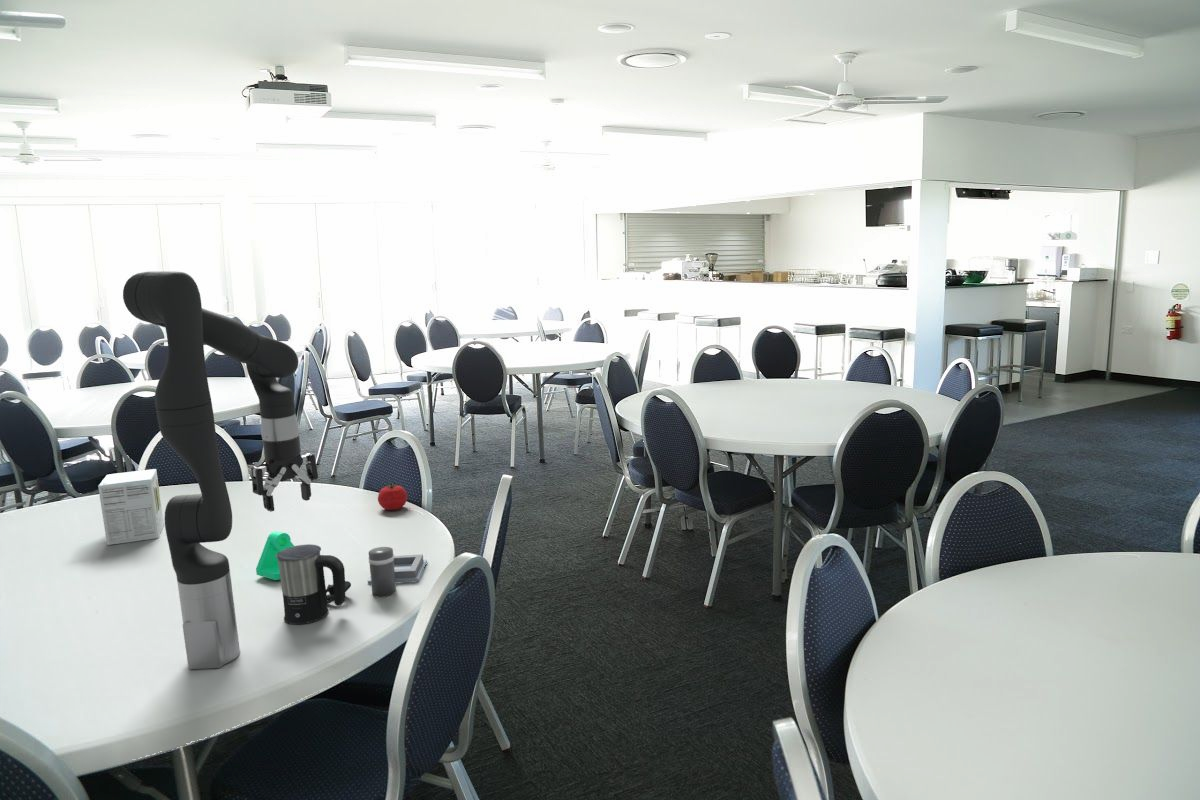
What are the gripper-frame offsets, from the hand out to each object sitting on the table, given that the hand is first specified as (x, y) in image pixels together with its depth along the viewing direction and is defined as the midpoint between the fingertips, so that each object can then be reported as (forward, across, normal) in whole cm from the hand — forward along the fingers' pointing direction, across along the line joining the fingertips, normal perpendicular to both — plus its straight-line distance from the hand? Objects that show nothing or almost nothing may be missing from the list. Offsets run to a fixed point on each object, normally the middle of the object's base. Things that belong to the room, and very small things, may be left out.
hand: (288, 505), depth 181 cm
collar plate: (+23, +23, -7) cm, 33 cm away
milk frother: (+23, 0, -8) cm, 24 cm away
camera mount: (+24, +7, +17) cm, 30 cm away
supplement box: (+27, -4, +81) cm, 85 cm away
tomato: (+26, +53, +37) cm, 70 cm away
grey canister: (+23, +14, -13) cm, 30 cm away
